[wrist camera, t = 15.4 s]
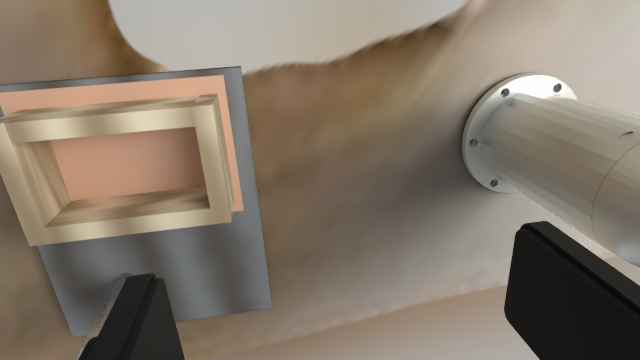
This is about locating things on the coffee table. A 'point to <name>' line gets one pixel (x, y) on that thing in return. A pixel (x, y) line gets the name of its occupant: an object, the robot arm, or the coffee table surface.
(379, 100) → the coffee table surface
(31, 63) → the coffee table surface
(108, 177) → the pin stand
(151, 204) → the open wooden box
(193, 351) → the coffee table surface
